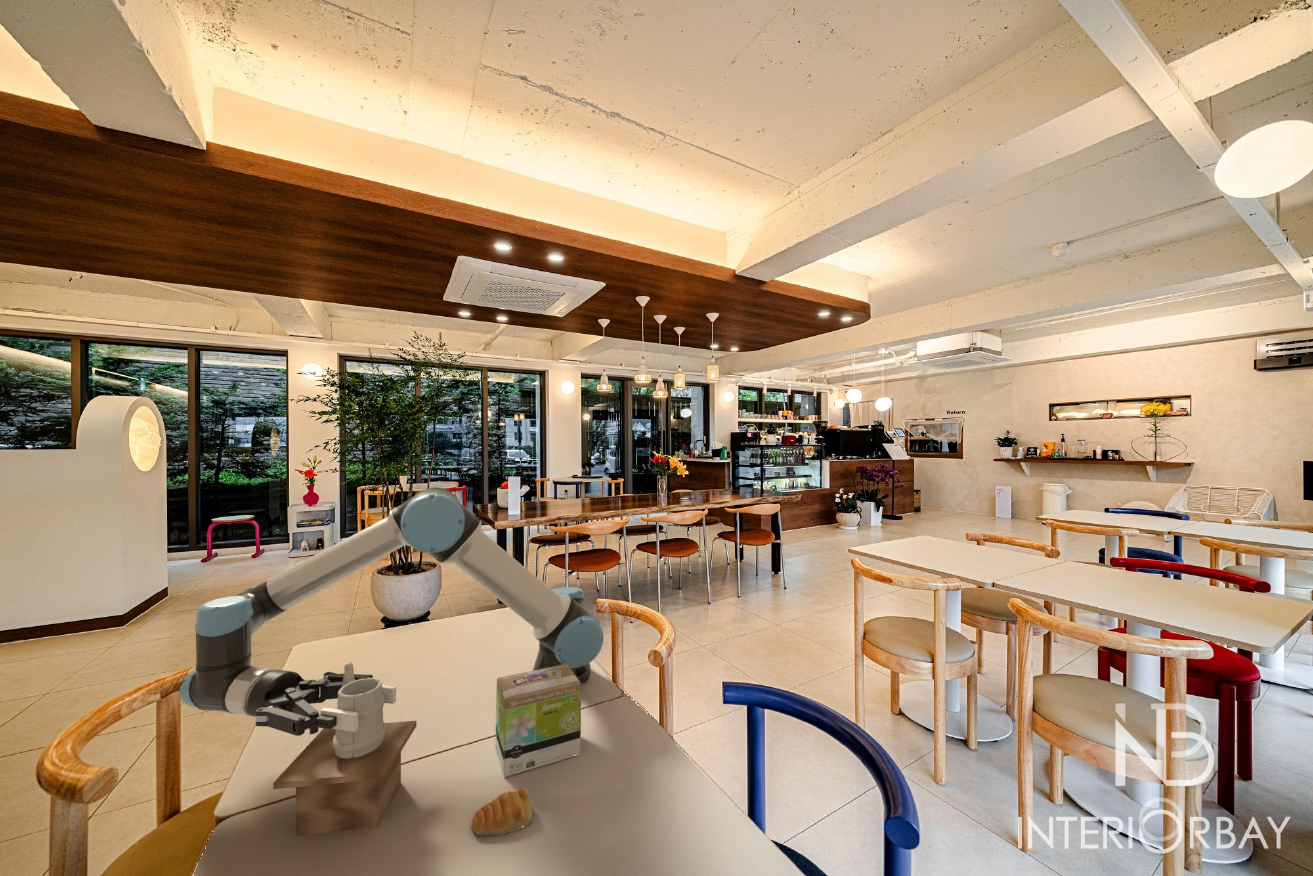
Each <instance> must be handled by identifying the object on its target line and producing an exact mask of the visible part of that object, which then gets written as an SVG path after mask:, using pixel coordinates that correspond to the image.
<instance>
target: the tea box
mask: <svg viewBox="0 0 1313 876" xmlns="http://www.w3.org/2000/svg"><path fill="white" fill-rule="evenodd" d="M495 702H496V703H495V707H496V708H495V743H494V745H495V751H496V754H497V757H498V760H499V764H500V768H501V771H502V775H503V778H508V777H509V776H513V775H516V774H520V773H522V772H525V771H529V770H533V769H536V768H539V767H542V766H546V765H551V764H553V763H557V762H560V761H564V760H567V758H568V759H570V758H569V757H571V758H574V757H573V756H574V755H578V754H579V755H580V754H581V740H582V739H581V736H582V732H581V731H582V722H581V721H582V685H581V683H580V681H579V680H578V678H577V677H576V675H575V674H574V673H573V671H572V670H571V668H570V667H569V665H568V664H563V665H558V666H553V667H548V668H543V669H539V670H534V671H533V670H530V671H526V672H521V673H514V674H511V675H506V676H501V677H500V676H499V677H498V678H496V699H495ZM563 759H564V760H563Z"/></svg>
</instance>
